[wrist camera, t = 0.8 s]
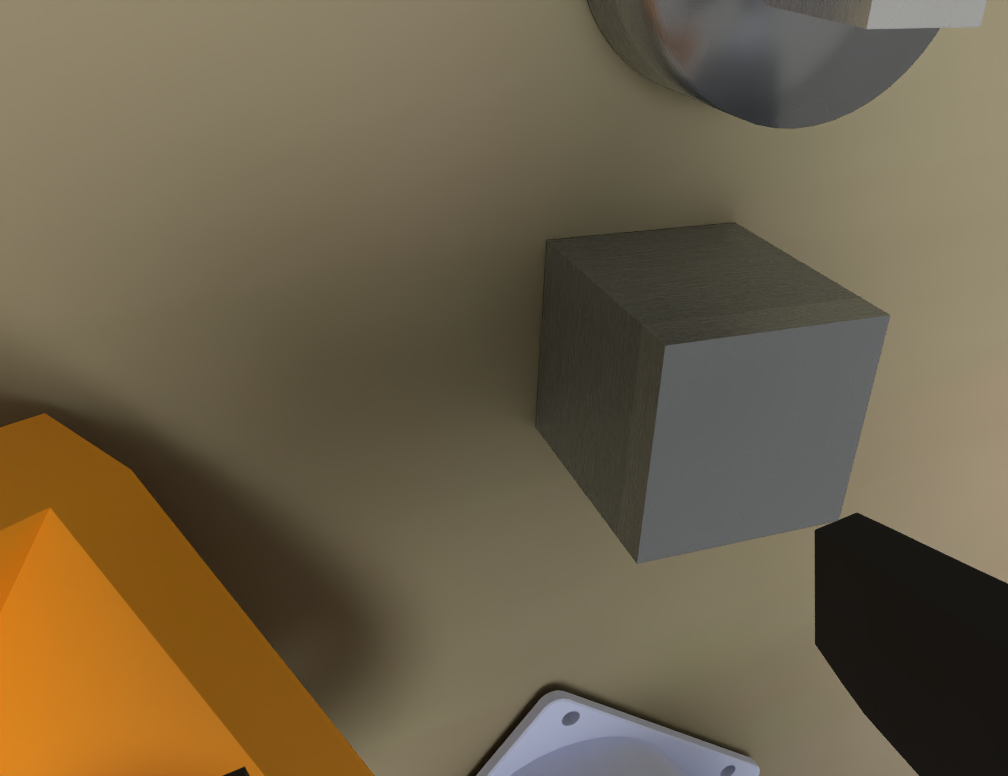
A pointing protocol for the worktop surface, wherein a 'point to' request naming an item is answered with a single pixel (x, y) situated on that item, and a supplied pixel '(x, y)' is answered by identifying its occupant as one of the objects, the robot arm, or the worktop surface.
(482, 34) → the worktop surface
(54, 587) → the bracket
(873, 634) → the robot arm
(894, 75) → the ratchet
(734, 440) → the grey brushed cube
